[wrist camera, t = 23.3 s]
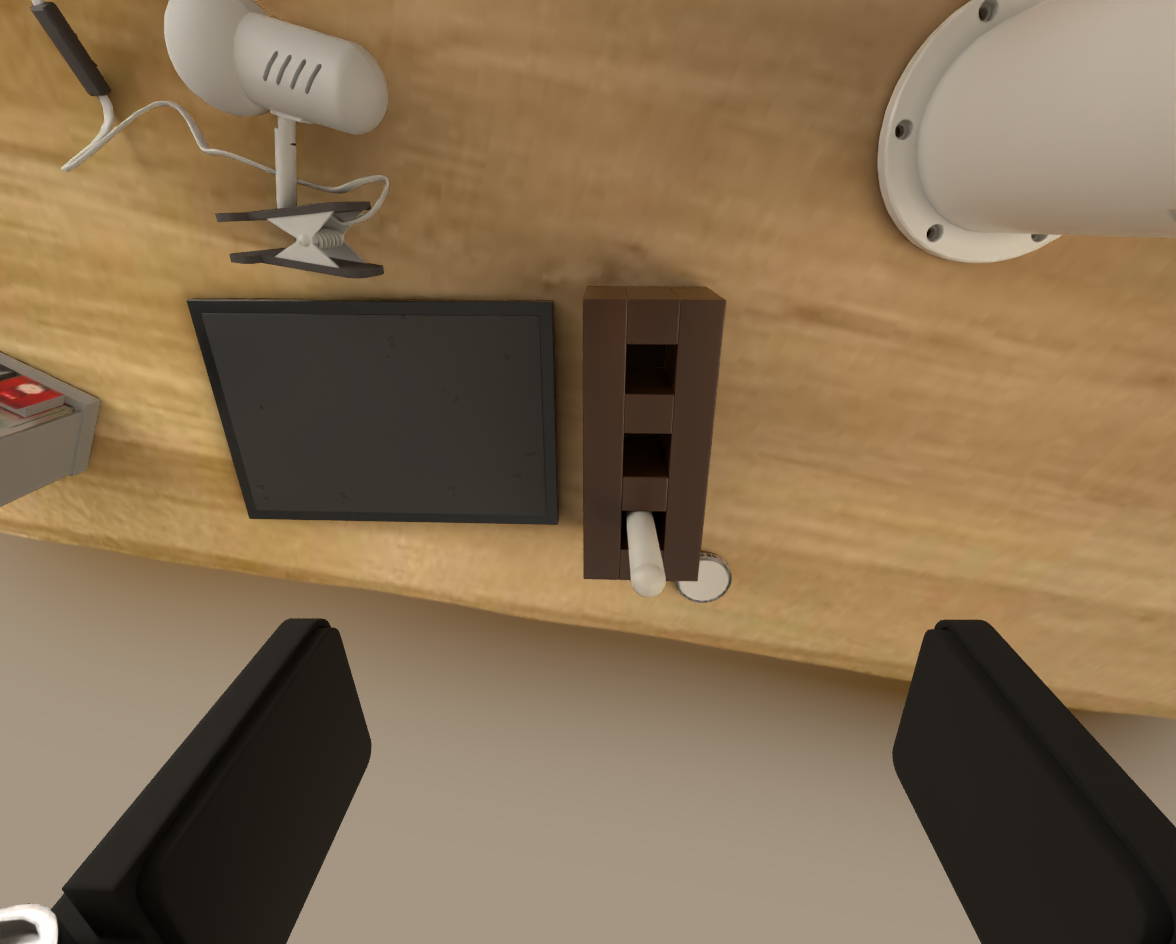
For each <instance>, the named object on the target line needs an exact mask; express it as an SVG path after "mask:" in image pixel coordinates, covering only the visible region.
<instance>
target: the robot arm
mask: <svg viewBox="0 0 1176 944" xmlns="http://www.w3.org/2000/svg"><path fill="white" fill-rule="evenodd" d="M979 11H980V12H981V14H982V16H981V20H980V18H979ZM896 127H899V129H900V134H899V136H898V137H896V135H895V129H896ZM877 167H878V176H879V184H880V190H881V193H882V197H883V200H884V203H885V206H886V209H887V211H888V213H889V215H890V216H891V218H892V220H893V221H894V223H895V225H896V226H897V228H898V229H899V230H900V231H901V232H902V233H903V235H904V236H905V237H906V238H907V239H908V240H909V241H910V242H911V243H912V244H914V245H916V246H917V247H919V248H920V249H922V250H924V251H925V252H927V253H928V254H931V255H934V256H937V257H940V258H943V259H946V260H950V261H957V262H964V263H992V262H997V261H1003V260H1008V259H1013V258H1016V257H1018V256H1021V255H1024V254H1027V253H1029V252H1032V251H1035V250H1037V249H1039V248H1041V247H1042V246H1044V245H1046V244H1048V243H1050V242H1051V241H1053V240H1055V239H1057V238H1059V237H1060V236H1061V235H1083V236H1119V237H1154V238H1176V0H971V1H969V2H968V3H966V4H965V5H963V6H962V7H960V8H959V9H958V10H956V11H955V12H953V13H952V14H951V15H950V16H949V17H948V18H947V19H946V20H945V21H944V22H943V23H942V24H941V25H940V26H938V27H937V28H936V29H935V30H934V31H933V32H932V33H931V34H930V35H929V37H928V38H927V39H926V40H925V42H924V43H923V44H922V46H921V47H920V48H919V49H918V51H917V52H916V53H915V54H914V56H913V57H912V58H911V60H910V62H909V63H908V65H907V67H906V68H905V70H904V72H903V74H902V75H901V77H900V79H899V81H898V82H897V84H896V86H895V89H894V91H893V94H892V96H891V99H890V101H889V104H888V106H887V109H886V111H885V115H884V119H883V124H882V128H881V132H880V137H879V146H878V162H877ZM928 229H930V235H929V236H928V237H927V231H928ZM892 753H893V763H894V767H895V770H896V773H897V775H898V778H899V780H900V782H901V784H902V786H903V788H904V789H905V792H906V794H907V795H908V798H909V800H910V802H911V804H912V805H913V808H914V809H915V812H916V813H917V816H918V818H919V820H920V821H921V824H922V826H923V828H924V830H925V832H926V834H927V835H928V838H929V840H930V842H931V844H932V846H933V848H934V850H935V852H936V854H937V856H938V857H939V860H940V862H941V864H942V866H943V867H944V870H945V872H946V874H947V876H948V878H949V880H950V882H951V883H952V886H953V888H954V890H955V892H956V894H957V896H958V898H959V900H960V902H961V904H962V906H963V908H964V910H965V912H966V914H967V916H968V918H969V920H970V922H971V924H972V926H973V928H974V930H975V932H976V934H977V936H978V938H979V940H980V942H981V944H1176V827H1175V826H1174V825H1173V824H1172V823H1171V822H1170V821H1169V820H1168V818H1167V817H1166V816H1165V815H1164V814H1163V813H1162V812H1161V811H1160V810H1159V809H1158V807H1156V805H1155V804H1154V803H1153V802H1152V801H1151V800H1150V799H1149V798H1148V796H1146V794H1145V793H1144V792H1143V791H1142V790H1141V789H1140V788H1139V787H1138V786H1137V785H1136V783H1135V782H1134V781H1133V780H1131V778H1130V777H1129V776H1128V775H1127V774H1126V773H1125V771H1124V770H1123V769H1122V768H1121V767H1120V766H1119V765H1118V764H1117V763H1116V761H1115V760H1114V759H1113V758H1112V757H1111V756H1110V755H1109V754H1108V753H1107V752H1106V751H1105V749H1104V748H1103V747H1102V746H1101V745H1100V744H1099V743H1098V742H1097V741H1096V740H1095V739H1094V737H1093V736H1092V735H1091V734H1090V733H1089V732H1088V731H1087V730H1086V729H1085V728H1084V726H1083V725H1082V724H1081V723H1080V722H1079V721H1078V720H1077V719H1076V718H1075V717H1074V715H1073V714H1072V713H1071V712H1070V711H1069V710H1068V709H1067V708H1066V707H1065V706H1064V705H1063V703H1062V702H1061V701H1060V700H1059V699H1058V698H1057V697H1056V696H1055V695H1054V694H1053V692H1052V691H1051V690H1050V689H1049V688H1048V687H1047V686H1046V685H1045V684H1044V683H1043V682H1042V680H1041V679H1040V678H1039V677H1038V676H1037V675H1036V674H1035V673H1034V672H1033V671H1032V669H1031V668H1030V667H1029V666H1028V665H1027V664H1026V663H1025V662H1024V661H1023V660H1022V659H1021V657H1020V656H1019V655H1018V654H1017V653H1016V652H1015V651H1014V650H1013V649H1012V648H1011V646H1010V645H1009V644H1008V643H1007V642H1006V641H1005V640H1004V639H1003V638H1002V637H1001V636H1000V634H999V633H998V632H997V631H996V630H995V629H994V628H993V627H992V626H991V625H990V624H989V623H987V622H986V621H983V620H940V621H939V622H938V623H937V624H936V626H935V628H934V629H931V630H928V631H927V632H926V633H925V635H924V638H923V641H922V645H921V649H920V652H919V656H918V659H917V663H916V667H915V670H914V674H913V678H912V681H911V685H910V688H909V693H908V696H907V699H906V703H905V707H904V710H903V714H902V718H901V721H900V725H899V728H898V732H897V736H896V739H895V743H894V747H893V752H892ZM370 755H371V739H370V736H369V732H368V730H367V725H366V722H365V719H364V715H363V712H362V708H361V705H360V701H359V698H358V694H357V691H356V687H355V684H354V680H353V677H352V674H351V670H350V667H349V664H348V660H347V657H346V653H345V649H344V646H343V643H342V639H341V636H340V633H339V631H338V630H337V629H336V628H331V626H330V624H329V622H328V621H326V620H325V619H288V620H285V621H284V622H283V623H282V624H281V625H280V626H279V627H278V629H277V630H276V631H275V632H274V633H273V634H272V636H271V637H270V638H269V639H268V640H267V642H266V643H265V644H264V645H263V646H262V648H261V649H260V650H259V651H258V652H257V654H256V655H255V656H254V657H253V658H252V660H251V661H250V662H249V664H248V665H247V666H246V667H245V668H244V669H243V670H242V672H241V673H240V674H239V675H238V676H237V678H236V679H235V680H234V681H233V683H232V684H231V685H230V686H229V687H228V689H227V690H226V691H225V692H224V693H223V695H222V696H221V697H220V698H219V699H218V701H217V702H216V703H215V705H214V706H213V707H212V708H211V709H210V710H209V711H208V713H207V714H206V715H205V716H204V718H203V719H202V720H201V721H200V722H199V724H198V725H197V726H196V727H195V728H194V730H193V731H192V732H191V733H190V734H189V736H188V737H187V738H186V739H185V741H184V742H183V743H182V744H181V745H180V747H179V748H178V749H177V750H176V751H175V752H174V754H173V755H172V756H171V757H170V759H169V760H168V761H167V762H166V763H165V765H164V766H163V767H162V768H161V769H160V771H159V772H158V773H157V774H156V775H155V777H154V778H153V779H152V780H151V782H150V783H149V784H148V785H147V786H146V787H145V789H144V790H143V791H142V792H141V794H140V795H139V796H138V797H137V798H136V800H135V801H134V802H133V803H132V804H131V806H130V807H129V808H128V809H127V810H126V812H125V813H124V814H123V815H122V816H121V818H120V819H119V820H118V821H117V822H116V824H115V825H114V826H113V827H112V829H111V830H110V831H109V832H108V833H107V835H106V836H105V837H104V838H103V839H102V841H101V842H100V843H99V844H98V845H97V847H96V848H95V849H94V850H93V851H92V853H91V854H90V855H89V856H88V857H87V859H86V860H85V861H84V862H83V863H82V865H81V866H80V867H79V868H78V870H77V871H76V872H75V873H74V874H73V876H72V877H71V878H70V879H69V881H68V882H67V883H66V884H65V885H64V887H63V888H62V890H63V891H64V894H63V896H62V897H61V898H60V899H59V900H58V901H57V903H56V904H55V905H54V906H53V908H52V909H51V910H49V909H48V908H47V907H46V906H43V905H37V904H30V903H28V904H22V905H18V906H12V907H7V908H4V909H2V910H0V944H286V943H287V941H288V938H289V936H290V933H291V932H292V929H293V927H294V925H295V923H296V921H297V919H298V916H299V914H300V912H301V910H302V908H303V906H304V903H305V901H306V899H307V897H308V895H309V892H310V890H311V888H312V886H313V884H314V881H315V879H316V877H317V875H318V873H319V871H320V868H321V866H322V864H323V862H324V860H325V857H326V855H327V853H328V851H329V849H330V846H331V844H332V842H333V840H334V838H335V835H336V833H337V831H338V829H339V827H340V824H341V822H342V820H343V818H344V816H345V814H346V811H347V809H348V807H349V805H350V803H351V800H352V798H353V796H354V794H355V792H356V790H357V787H358V785H359V783H360V781H361V779H362V776H363V774H364V772H365V770H366V768H367V765H368V763H369V759H370Z"/></svg>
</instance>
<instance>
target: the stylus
mask: <svg viewBox="0 0 1176 944" xmlns="http://www.w3.org/2000/svg"><path fill="white" fill-rule="evenodd" d="M626 521H627V535H628V548H629V562H630V576H631V584H632V587H633V589H634V590H635V591H636V592H637V593H638V594H639V595H641V596H644V597H654V596H656V595H658V594H660V593H661V592H662V590H663V589H664V587H665V583H666V577H665V572H664V567H663V562H662V557H661V553H660V548H659V543H658V538H657V534H656V529H655V524H654V519H653V514H652V511H626Z"/></svg>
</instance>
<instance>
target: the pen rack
mask: <svg viewBox="0 0 1176 944" xmlns="http://www.w3.org/2000/svg"><path fill="white" fill-rule="evenodd" d="M725 306H726V300H725V299H723V298H722V297H720V296H719V295H717V294H716V293H714V292H713V291H712V290H710V289H709V288H707V287H634V286H626V287H624V286H588V287H587V290H586V293H585V296H584V299H583V522H584V579H609V580H619V579H620V580H631V576H630V562H629V548H628V535H627V521H626V511H652V514H653V519H654V524H655V529H656V534H657V538H658V543H659V548H660V553H661V557H662V562H663V567H664V572H665V577H666V581H698V574H699V564H700V554H701V544H702V534H703V524H704V514H705V504H706V494H707V484H708V475H709V465H710V455H711V445H712V435H713V425H714V415H715V405H716V395H717V386H718V376H719V366H720V356H721V346H722V336H723V326H724V316H725ZM626 343H627V344H659V345H666V348H665V365H664V368H661V367H626ZM624 433H652V434H660V440H643V439H624Z"/></svg>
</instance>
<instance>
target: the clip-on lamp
mask: <svg viewBox="0 0 1176 944" xmlns="http://www.w3.org/2000/svg"><path fill="white" fill-rule="evenodd" d="M32 3H33V5H32V6H31V7H30V8H31V11H32V12H33V14H34V15H35V16H36V18H37V19H38V21H39V22H40V24H41V25H42V27H43V28H44V30H45V31H46V33H47V34H48V35H49V37H50V38H51V40H52V41H53V43H54V44H55V46H56V47H57V49H58V50H59V52H60V53H61V54H62V56H63V57H64V59H65V60H66V62H67V63H68V65H69V66H70V68H71V69H72V71H73V72H74V73H75V75H76V76H77V78H78V79H79V81H80V82H81V84H82V85H83V87H84V88H85V90H86V91H87V92H88V94H90V95H91V96H98V98H99V100H100V102H101V104H102V106H103V112H104V119H105V120H104V123H103V125H102V127H101V130H100V132H99V134H98V135H97V136H96V137H95V138H94V139H93V140H92V142H91V143H90V144H89V145H88V146H87V147H86V148H84V149H83V150H82V151H81V152H80V153H78V154H77V155H76V156H75V157H73V158H72V159H71V160H69V161H68V162H67V163H66V164H65V165H64V166H63V167H62V170H63V171H67V172H69V171H71V170H72V169H74V168H76V167H78V166H79V165H80V164H82V163H83V162H84V161H86V160H87V159H88V158H90V157H91V156H92V155H93V154H94V153H96V152H97V151H98V150H99V149H100V148H101V147H102V146H104V145H105V144H106V143H107V142H108V141H109V140H111V139H112V138H113V137H114V136H115V135H116V134H118V133H119V132H120V131H121V130H122V129H123V128H125V127H126V126H127V125H129V124H130V123H131V122H132V121H134V120H135V119H136V118H138V117H139V116H140V115H142V114H144V113H146V112H147V111H149V110H151V109H153V108H155V107H158V106H170V107H172V108H175V109H177V110H178V111H179V113H180V114H181V115H182V116H183V117H184V119H185V120H186V122H187V124H188V125H189V127H190V129H191V131H192V133H193V136H194V138H195V140H196V142H197V144H198V146H199V147H200V149H201V150H202V151H203V152H205V153H206V154H209V155H212V156H224V157H229V158H232V159H235V160H238V161H241V162H243V163H246V164H248V165H251V166H254V167H256V168H258V169H261V170H263V171H266V172H268V173H271V174H273V175H276V195H277V209H270V210H262V211H254V212H244V213H219V214H215V215H216V218H217V221H218V222H228V221H255V220H268V221H270V222H272V223H273V224H275V225H276V226H278V227H279V228H281V229H282V230H284V231H286V232H287V233H289V234H290V235H292V236H293V237H295V238H296V239H297V241H296V242H295V243H293V244H292V245H290V246H289V247H288V248H280V249H270V250H260V251H251V252H241V253H232V254H230V259H231V262H234V263H242V264H254V263H266V264H272V265H278V266H284V267H289V268H295V269H301V270H306V271H312V272H318V273H324V274H329V275H335V276H341V277H347V278H368V277H373V276H378V275H382V274H384V269H383V266H382V265H377V264H371V263H367V262H366V261H365V260H364V259H363V258H362V257H361V256H360V255H359V254H358V253H357V252H356V251H355V250H354V249H352V248H351V247H350V246H349V245H348V244H347V243H346V242H345V241H344V239H345V236H344V234H345V233H346V231H347V230H348V229H349V228H350V227H351V225H353V224H357V223H361V222H363V221H366V220H367V219H369V218H370V217H372V216H373V215H374V214H375V213H376V212H377V211H378V210H379V208H380V207H381V205H382V204H383V202H384V200H385V198H386V196H387V193H388V190H389V181H388V179H387V177H385V176H383V175H372V176H367V177H363V178H360V179H356V180H353V181H351V182H348V183H346V184H344V185H342V186H339V187H327V186H322V185H318V184H314V183H310V182H307V181H304V180H301V179H298V178H297V177H296V121H298V122H302V123H307V124H312V125H313V123H315V124H319V125H322V126H325V127H329V128H332V129H336V130H339V131H342V132H346V133H349V134H352V135H360V134H365V133H368V132H370V131H372V130H373V129H374V128H376V127H377V126H378V125H379V124H380V122H381V121H382V119H383V118H384V116H385V114H386V111H387V107H388V88H387V83H386V79H385V77H384V74H383V72H382V69H381V68H380V66H379V64H378V63H377V62H376V60H375V59H374V57H373V56H372V55H371V54H370V53H369V52H368V51H367V50H366V49H365V48H363V47H362V46H360V45H359V44H357V43H354V42H350V41H347V40H344V39H341V38H337V37H334V36H331V35H328V34H324V33H321V32H318V31H315V30H311V29H308V28H305V27H302V26H298V25H295V24H292V23H289V22H285V21H282V20H279V19H276V18H272V17H269V16H268V15H267V14H266V12H265V11H264V10H263V9H262V8H261V7H260V6H259V5H258V4H257V3H256V2H255V1H254V0H169V2H168V5H167V8H166V11H165V15H164V36H165V41H166V45H167V50H168V54H169V57H170V59H171V61H172V63H173V65H174V68H175V70H176V72H177V73H178V75H179V76H180V78H181V79H182V80H183V82H184V83H185V84H186V86H187V87H188V88H189V89H190V90H191V91H192V92H193V93H195V94H196V95H197V96H198V97H200V98H201V99H202V100H203V101H205V102H206V103H207V104H209V105H210V106H212V107H214V108H216V109H219V110H221V111H224V112H226V113H229V114H232V115H236V116H259V115H262V114H265V113H267V112H268V111H270V113H271V114H274V115H277V116H278V127H274V128H275V162H276V170H274V169H271V168H269V167H266V166H264V165H261V164H259V163H256V162H254V161H251V160H249V159H246V158H244V157H241V156H239V155H236V154H233V153H230V152H227V151H223V150H218V149H210V148H209V146H208V144H207V142H206V140H205V138H204V136H203V134H202V132H201V131H200V129H199V127H198V125H197V124H196V122H195V121H194V119H193V118H192V116H191V115H190V114H189V113H188V112H187V111H186V110H185V109H184V108H183V107H182V106H180V105H178V104H176V103H174V102H172V101H156V102H154V103H152V104H150V105H148V106H146V107H144V108H142V109H140V110H138V111H137V112H135V113H134V114H133V115H131V116H130V117H128V118H127V119H126V120H124V121H123V122H122V123H120V124H119V125H118V126H117V127H115V128H114V129H113V130H112V131H111V128H112V126H113V123H114V121H115V118H114V111H113V105H112V103H111V101H110V100H109V98H108V96H107V94H109V93H110V91H111V89H110V87H109V85H108V84H107V82H106V81H105V79H104V78H103V76H102V75H101V73H100V72H99V70H98V69H97V67H96V66H97V65H96V64H95V63H94V61H93V60H92V59H91V58H90V56H89V55H88V53H87V52H86V50H85V49H84V47H83V46H82V44H81V42H80V41H79V39H78V37H77V35H76V33H74V32H73V30H72V29H71V27H70V26H69V24H68V23H67V21H66V20H65V18H64V16H63V15H62V13H61V12H60V10H59V9H58V7H57V6H56V5H55V4H54V3H53V2H44V0H32ZM110 131H111V132H110ZM375 181H383V182H384V183H385V188H384V190H383V192H382V194H381V196H380V198H379V199H378V201H377V202H376V203H375V205H374V206H373V207H372V208H371V206H370V202H330V203H318V204H310V205H302V206H297V183H298V184H301V185H304V186H307V187H310V188H314V189H318V190H321V191H325V192H330V193H339V194H341V193H346V192H349V191H351V190H352V189H354V188H357V187H359V186H361V185H364V184H367V183H371V182H375ZM364 210H369V211H368V212H366V213H365V214H363V215H362V216H360V215H361V214H362V212H363V211H364Z"/></svg>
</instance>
